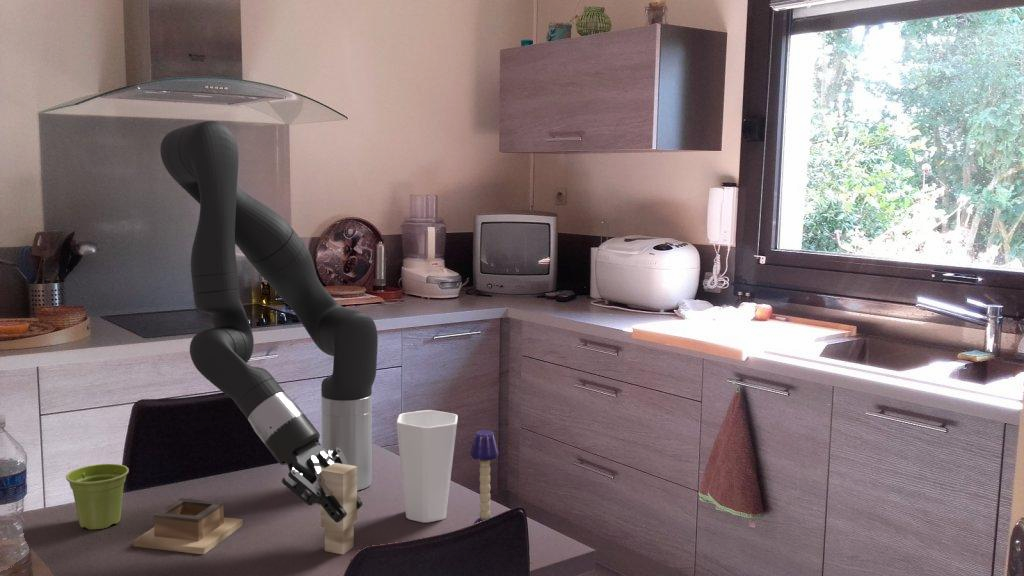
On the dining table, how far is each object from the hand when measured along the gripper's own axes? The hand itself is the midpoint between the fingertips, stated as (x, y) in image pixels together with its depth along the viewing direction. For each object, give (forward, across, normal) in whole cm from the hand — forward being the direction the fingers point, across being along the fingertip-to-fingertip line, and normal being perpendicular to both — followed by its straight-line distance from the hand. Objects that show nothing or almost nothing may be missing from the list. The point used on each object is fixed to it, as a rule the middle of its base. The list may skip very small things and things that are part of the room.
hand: (350, 513), depth 139 cm
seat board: (-14, -5, +23) cm, 28 cm away
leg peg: (+3, 0, +6) cm, 6 cm away
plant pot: (-26, -7, +35) cm, 44 cm away
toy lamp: (+15, +16, -6) cm, 23 cm away
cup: (+7, +18, +2) cm, 20 cm away
